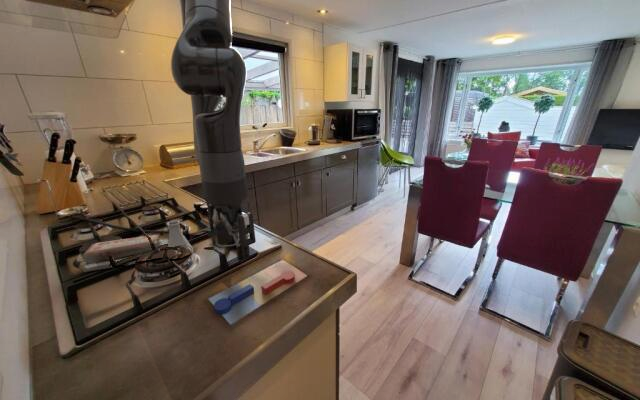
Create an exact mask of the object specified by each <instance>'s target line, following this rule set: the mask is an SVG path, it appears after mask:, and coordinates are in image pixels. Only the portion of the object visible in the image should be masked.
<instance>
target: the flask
mask: <svg viewBox="0 0 640 400" xmlns="http://www.w3.org/2000/svg"><path fill="white" fill-rule="evenodd" d="M180 223H181V221H180V220H178V219H174V220H170V221H168V222H167V223H166V226H167V227H168V231H169V235H168V246H167V247H175V246H178V245H185V246H188V247H191V248H192V253H193V252H194V247H193V246H192V244H191V243H190V242H189V241H188V239H187V238H186V235H183V233H182V232H183V231H182V229H181V226H180Z"/></svg>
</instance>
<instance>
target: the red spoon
mask: <svg viewBox="0 0 640 400" xmlns="http://www.w3.org/2000/svg"><path fill="white" fill-rule="evenodd" d="M294 280H295V274H294V272H292V271H284V272H283V273H282V274H281V275H280V276H278V277H276V278H274V279H273V280H271V281H269V282H267V283H266V284H264V285H262V293H264V294H265V295H267V294H269V293H270V292H272V291H274V290H275V289H277V288H278V287H280V286H282V285H283V284H289V283H292V282H293V281H294Z"/></svg>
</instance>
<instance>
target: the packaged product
mask: <svg viewBox="0 0 640 400" xmlns="http://www.w3.org/2000/svg"><path fill="white" fill-rule="evenodd" d="M146 236H147V235H145V236H136V237H130V238H122V239H115V240H114V239H113V240H107V241H100V242H95V243H93V244H91V246H89V248H87V250H86V251H85V252H84V254H83V259H84V261H85V264H84V265H83V268H82V270H83V272H84V273H88V272H93V271H100V270H105V269H110V268H113V267H112V265H111V266H109V265H110V262H109V259H108V255H111V256H112V257H113V258H114V260H115V261H116V262H117V261H120V260H122V259H125V258H127V257H130V256H134V255H138V256H139V255H142V254H144V253H146V252H149V251H151V250H152V248H151V245H150V242H149V240H148V238H147V237H146ZM148 236H149V237H150V238H151V239H152V241H153V243H154V244H155V246H156V247H158V246H160V245H164V244H168V242H169V238H164V239H160V234H152V235H148ZM135 262H136V261H134V262H130V263H129V264H128V265H126V266H131V265H134V264H136V263H135ZM126 266H125V267H126Z"/></svg>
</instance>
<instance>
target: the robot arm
mask: <svg viewBox="0 0 640 400" xmlns="http://www.w3.org/2000/svg"><path fill="white" fill-rule="evenodd" d="M179 3H180V4H179V5H180V13H181V22H182V31H181V33H180V35H179V36H178V39H177V40H176V43H175V45H174V47H173V50H172V53H171V54H172V55H171V59H170V60H171V61H170V70H171V75H172V78H173V80H174V83H175V85H177V87H178V88H179V90H181V92H183V93H184V94H186V95H188V96H190V101H191V111H192V112H191V113H192V128H193V129H192V132H193V150H194V155H195V159H196V163H197V164H198V167H199V174H200V181H201V185H202V192H203V193H202V194H203V198H204V201H205V203H206V209H207V216H208V224H209V229H206V230H201V231H200V232H208V233H207V235H208V239H211V242H212V245H213V246H216V247H219V248H222V249H223V248H231V247H235V249H236V257H237V261H238V263H243V262H246V261H248V260H250V257H251V253H250V246H251V245H254V244H256V241H257V240H256V233H255V225H254V216H253V213H252V212H247V213H245V212H244V206H243V202H244V201H245V200H246V199H247V197H248V187H247V178H246V177H247V175H246V164H245V158H244V154H243V148H242V136H241V109H242V102H243V98H244V92H245V87H246V84H247V83H246V82H247V76H248V75H247V73H248V72H247V65H246V62H245V60H244V58H243V56H242V55H241V53H240V52H239V51H238V50H237V49H235V48H233V47H232V43H233V34H232V33H233V30H232V17H231V0H179ZM223 98H225V102H224V105H223V106H222V107H221V108H219V109H217V107H218V106H219V104H220V102H221V101H222V99H223ZM70 217H71V218H72V219H75V220H76V219H77V220H82V221H85V222H90V223H95V224H98V225H101V226H106V227H109V228H113V229H118V230H123V231H128V230H127V229H129V228H130V227H126V226H120V225H115V224H110V223H107V222H103V221H99V220H95V219H91V218H88V217H82V216H77V215H71V216H70ZM143 230H144V231H145V232H144V233H146V234H147V233H149V234H169V230H153V229H151V230H150V229H143ZM132 232H137V233H140V232H139V231H137V230H133V231H132ZM183 232H184V231H182V233H183ZM188 233H189V235H190V236H189V237H193V236H192V235H194V234H195V233H190V232H188Z"/></svg>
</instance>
